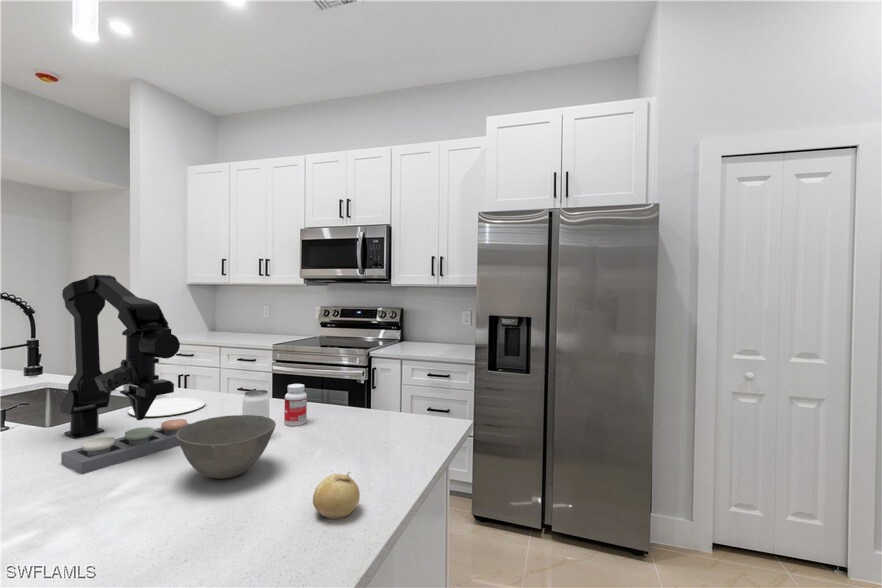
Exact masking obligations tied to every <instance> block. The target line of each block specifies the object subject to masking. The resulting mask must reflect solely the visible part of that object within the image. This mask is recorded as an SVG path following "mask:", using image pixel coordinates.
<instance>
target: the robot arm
mask: <svg viewBox="0 0 882 588" xmlns="http://www.w3.org/2000/svg"><path fill="white" fill-rule="evenodd" d="M61 296H62V299H63V301H64V307H65V309H66V310H67V311H68V312H69V314H71V316H72V317H73V323H74V324H73V326H74V345H75V346H74V349H75V350H74V351H75V374H74V375H73V376H72V378H71V380H70V381H69V383H68V386H67V392H66V394H65V396H64V397H63V398H62V400H61V402H60V403H59V409H60V413H61V414H66V415H69V416H70V417H69V418H70V419H69V420H70V423H69V424H70V425H69V427H70V428H69V430H67V431H64V435H65V436H68V437H71V438H72V439H78V438H82V437H87V436H91V435H94V434H95V435H96V434H99V433H104V432H105V429H104V428H101V427H99V424H100V423H99V421H100V420H99V417H100V416H99V413H100V411H99V409H103V408H108V406H109V403H110V398H111V394H112V392H114V391H116V389H119V388H120V387H122V386H123V390H121V391H119V393H120V394H122V395H124V396H125V397H127V398H128V399H129V401H130V402H129V403H130V404H131V408H133V411H134V413H135V416H134V417H135V419H136V421H142V420H144V419H145V418H146V417H145V415H146V413H147V412H148V410H149V408H150V406H151V404H152V403H153V401H155V399H156V398H157V397H158V396H162V395H168V394H172V393H174V392H175V383H174V382H173V381H171V380H169V379H168V380H167V379H163V378H162V379H159V378H160V377H159V375H158V374H156V364H158V363H160V359H167V360H168V359H170V358H173V357H174V356H175V355H177V353H178V352H179V350H180V345H181V342H180V341H179V338H178V337H177V336H176V335H175V334H173V333H172V328H170V326H169V322H168V320H167V319H166V318H165V314H164V313H163V311H162V308H161V307H160V306H159V304H158V303H157V302H154V301H153V300H150V299H146V298H142V297H139V296H136V295H135V294H134V293H133V292H131V291H130V290H129V289H128V288H126V287H125V286H124V285H122V284H121V283H120V282H119V281H117V279H116V277H115V276H112V275H110V274H92V275H89V276H87V277H86V278H83V279H80V280H76V281H73V282H70V283H69V284H68V285H66V286H65V287H64V288H63V289H62V295H61ZM106 302H108V303H109V304H110V306H112V307H113V308H115V309H116V310H117V311H118V314H117V318H118V320H120V322H121V323H122V325H123V326H124V327H125V328H126V329H124V330H123V331H122V333H121V335H122V336H126V337H125V338H126V339H125V340H126V341H125V344H126V345H125V346H126V347H125V359H122V360H121V361H120V366H119V367H117V368H114V369H111V370H108V371H107V372H103V371H101V362H100V361H101V360H100V337H99V335H100V333H99V315H100V314H101V312H102V311H103V309H104V308H105V307H106Z"/></svg>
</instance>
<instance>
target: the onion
mask: <svg viewBox="0 0 882 588" xmlns="http://www.w3.org/2000/svg"><path fill="white" fill-rule="evenodd" d="M350 473H351V471H349V472H347V473H346V474H343V473H342V474H341V473H338V474H337V473H333V474H330V475H328V476H327V477H325V478H323V479H322V480H321V481H320V482H319V484H318V485H317V486H316V488H315V491H314V492H313V495H312V504H313V507H314V509H315V511H316V512H317V514H318V515H320V517H325V518H327V519H340V518H344V517H348V516H349V515H350V514H351V513H352V512H353V511H354V510H355V509H356V508H357V506H358V504H359V502H360V496H361V495H360V489H359V487H358V484H357V483H356V482H355V480H354V479H353V478H351V476H350V475H349V474H350Z"/></svg>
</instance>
